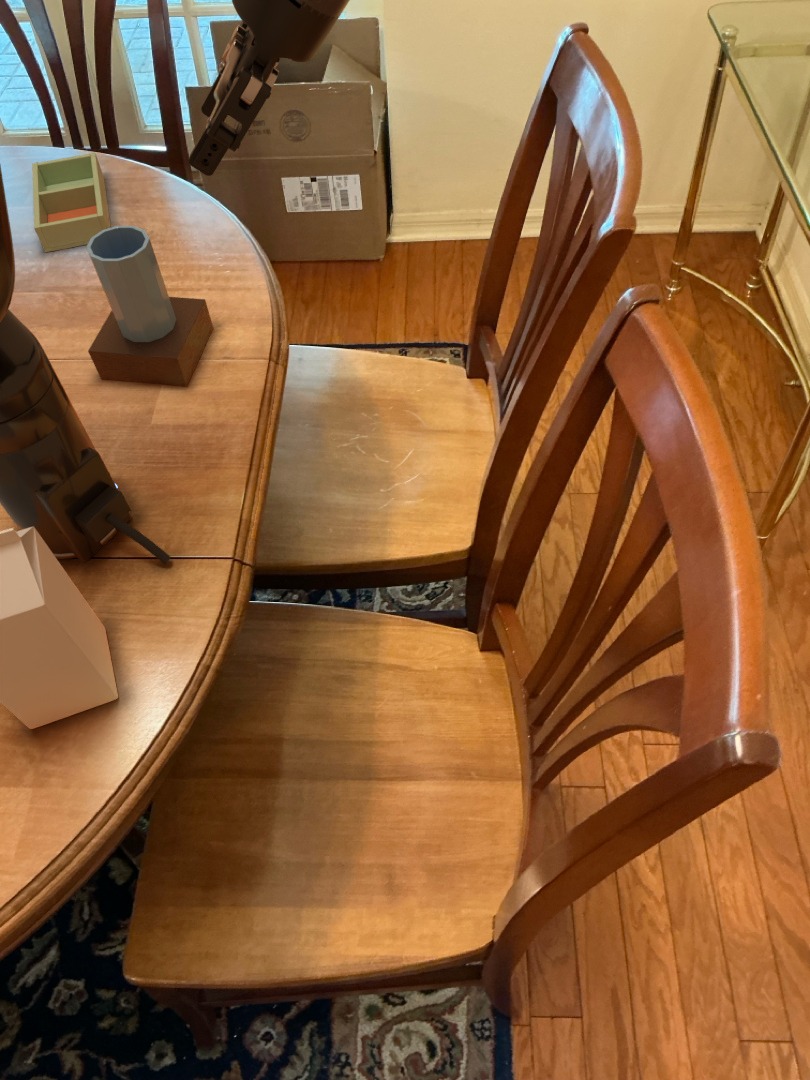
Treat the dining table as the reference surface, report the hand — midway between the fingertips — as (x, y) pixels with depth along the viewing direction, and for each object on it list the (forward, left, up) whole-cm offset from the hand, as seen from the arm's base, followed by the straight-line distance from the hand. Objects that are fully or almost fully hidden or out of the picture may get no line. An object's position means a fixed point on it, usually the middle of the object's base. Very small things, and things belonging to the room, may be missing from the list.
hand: (205, 141), depth 68 cm
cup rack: (+39, -10, -24) cm, 47 cm away
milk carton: (-13, +40, -24) cm, 48 cm away
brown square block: (+9, +6, -24) cm, 26 cm away
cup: (+9, +6, -20) cm, 23 cm away
